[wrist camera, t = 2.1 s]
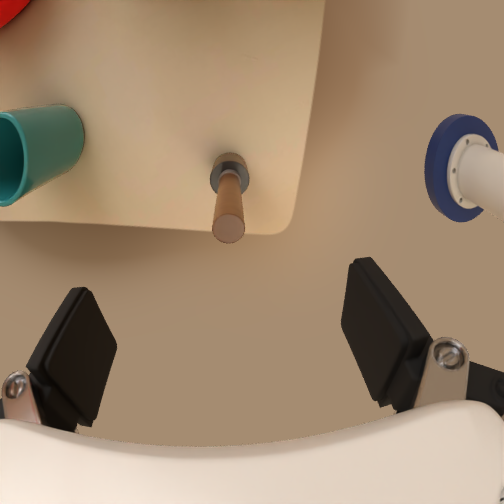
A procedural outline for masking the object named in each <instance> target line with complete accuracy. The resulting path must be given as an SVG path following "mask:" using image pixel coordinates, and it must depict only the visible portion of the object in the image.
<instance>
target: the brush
mask: <svg viewBox="0 0 504 504" xmlns="http://www.w3.org/2000/svg"><path fill="white" fill-rule="evenodd" d="M210 184H211V187H212V189H213V190H214V191H215V193H217V199H216V205H215V212H214V218H213V225H212V231H213V234H214V236H215V237H216V238H217V239H218V240H219V241H221V242H223V243H234V242H236V241H238V240H239V239H240V238H242V236H243V235H244V232H245V223H244V214H243V206H242V197H241V194H243V193H244V192H245V190H246V189H247V187H248V185H249V174H248V170H247V166H246V163H245V161H244V159H243V158H242V157H241V156H239V155H238V154H235V153H225V154H223V155H221V156H219V157H218V158H217V159H216V161H215V163H214V166H213V169H212V172H211V175H210Z"/></svg>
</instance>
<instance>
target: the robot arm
mask: <svg viewBox="0 0 504 504" xmlns="http://www.w3.org/2000/svg"><path fill="white" fill-rule="evenodd" d="M447 184H448V189H449V192H450V195H451V197H452V198H453V200H454V201H455V202H456V203H457V204H458V205H460V206H461V207H463V208H467V209H471V208H474V207H476V206H479V207H481V208H482V209H484V210H486V211H487V212H489V213H490V214H492V215H493V216H495V217H497V218H498V219H500V220H501V221H503V222H504V154H503V153H501V152H498V151H496V150H493V149H491V147H490V145H489V143H488V142H487V141H486V139H484V138H483V137H482V136H480V135H477V134H467V135H464V136H463V137H461V138H460V139H459V140H458V141H457V143H456V144H455V146H454V147H453V149H452V152H451V154H450V157H449V161H448V167H447ZM341 327H342V330H343V332H344V334H345V337H346V339H347V341H348V343H349V345H350V348H351V350H352V352H353V355H354V357H355V359H356V361H357V364H358V366H359V369H360V371H361V373H362V376H363V378H364V380H365V383H366V385H367V388H368V390H369V392H370V395H371V397H372V399H373V400H374V401H378V403H379V406H380V407H384V406H387V405H389V404H392V406H393V409H394V410H395V412H394V414H393V415H391V416H388V417H385V418H382V419H379V420H375V421H372V422H368V423H364V424H361V425H357V426H353V427H349V428H345V429H341V430H337V431H332V432H328V433H323V434H319V435H313V436H308V437H303V438H297V439H291V440H284V441H277V442H268V443H259V444H248V445H235V446H213V447H212V446H211V447H186V446H162V445H149V444H138V443H128V442H122V441H114V440H108V439H102V438H96V437H91V436H86V435H81V434H79V432H78V429H77V423H78V424H80V425H82V426H87V427H92V423H93V420H95V419H96V418H97V414H98V411H99V407H100V403H101V399H102V396H103V392H104V389H105V385H106V382H107V379H108V376H109V372H110V369H111V366H112V363H113V360H114V357H115V353H116V350H117V343H116V340H115V338H114V337H113V335H112V333H111V331H110V329H109V327H108V325H107V323H106V321H105V319H104V317H103V315H102V313H101V311H100V309H99V307H98V304H97V302H96V300H95V298H94V296H93V294H92V292H91V291H89V290H88V289H87V288H86V287H77V288H72V289H71V290H70V291H69V293H68V295H67V296H66V298H65V299H64V301H63V302H62V304H61V306H60V307H59V309H58V310H57V312H56V313H55V315H54V317H53V318H52V320H51V322H50V323H49V325H48V327H47V329H46V330H45V332H44V334H43V335H42V337H41V339H40V341H39V343H38V344H37V346H36V348H35V350H34V352H33V354H32V355H31V357H30V359H29V361H28V363H27V365H26V367H27V368H28V370H29V371H30V372H31V373H30V375H28V374H27V373H26V372H24V371H16V372H13V373H12V374H10V375H9V376H8V377H7V378H6V380H5V381H4V383H3V386H2V398H1V399H0V504H504V372H501V371H498V370H495V369H492V368H489V367H486V366H483V365H480V364H477V363H474V362H471V361H469V353H468V351H467V349H466V348H465V346H464V345H463V344H462V343H461V342H459V341H458V340H456V339H453V338H450V337H441V338H438V339H436V340H434V341H433V339H432V338H431V336H430V334H429V333H428V332H427V330H426V328H425V327H424V325H423V324H422V323H421V321H420V320H419V319H418V317H417V316H416V314H415V313H414V311H412V309H411V308H410V306H409V305H408V303H407V302H406V301H405V299H404V298H403V297H402V295H401V294H400V293H399V292H398V290H397V289H396V288H395V286H394V285H393V284H392V283H391V281H390V280H389V279H388V277H387V276H386V275H385V274H384V272H383V271H382V270H381V269H380V268H379V266H378V265H377V264H376V263H375V262H374V260H373V259H372V258H371V257H365V258H358V259H355V260H354V262H353V263H352V264H350V265H349V270H348V278H347V286H346V292H345V299H344V306H343V312H342V318H341Z"/></svg>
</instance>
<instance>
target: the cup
mask: <svg viewBox="0 0 504 504" xmlns="http://www.w3.org/2000/svg"><path fill="white" fill-rule="evenodd" d="M83 143H84V131H83V126H82V122H81V120H80V118H79V116H78V115H77V113H76V112H75V111H74V110H73V109H72V108H70V107H69V106H66V105H63V104H51V105H41V106H33V107H25V108H18V109H12V110H6V111H1V112H0V206H1V207H5V206H9V205H11V204H13V203H15V202H16V201H18V200H19V199H21V198H22V197H24V196H26V195H27V194H29V193H31V192H32V191H34V190H36V189H38V188H39V187H41V186H43V185H45V184H46V183H48V182H50V181H52V180H54V179H56V178H57V177H59V176H61V175H63V174H65V173H67V172H68V171H69V170H71V169H72V168H73V166H74V165H75V164H76V162H77V161H78V159H79V157H80V155H81V152H82V149H83Z"/></svg>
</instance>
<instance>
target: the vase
mask: <svg viewBox="0 0 504 504" xmlns="http://www.w3.org/2000/svg"><path fill="white" fill-rule="evenodd" d="M29 1H30V0H0V28H1V27H2V26H4V25H5V24H7V23H8V22H9V21H10V20H11V19H13V18H14V17H15V16H16V15H17V14H18V13H19V12H20V11H22V9H23V8H24V7H25V6H26V5H27V4H28V3H29Z"/></svg>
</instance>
